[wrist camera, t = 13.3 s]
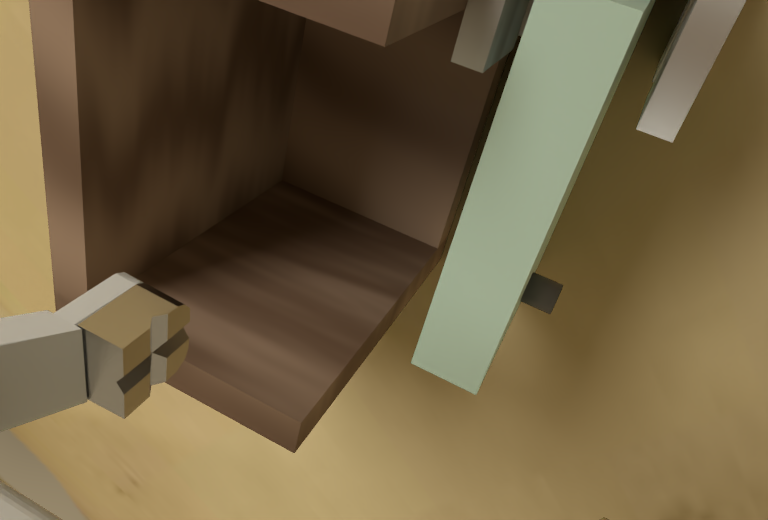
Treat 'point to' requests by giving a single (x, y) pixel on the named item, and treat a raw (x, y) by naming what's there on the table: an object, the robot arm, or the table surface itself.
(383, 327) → the cabinet
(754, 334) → the table surface
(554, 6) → the door
